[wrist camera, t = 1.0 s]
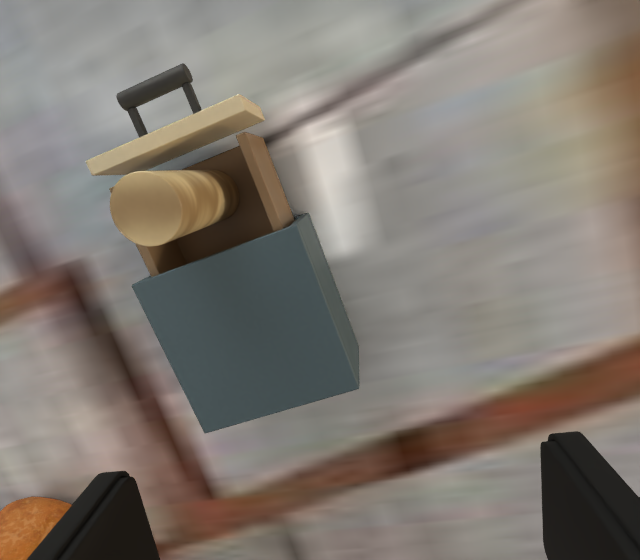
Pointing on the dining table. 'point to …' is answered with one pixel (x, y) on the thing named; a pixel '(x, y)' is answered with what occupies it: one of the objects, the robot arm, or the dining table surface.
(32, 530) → the bread
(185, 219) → the cylinder
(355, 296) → the dining table surface
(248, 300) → the cabinet
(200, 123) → the drawer
